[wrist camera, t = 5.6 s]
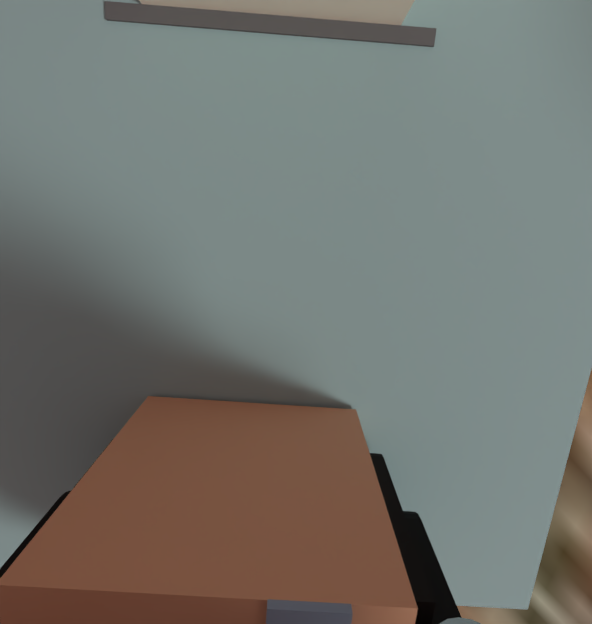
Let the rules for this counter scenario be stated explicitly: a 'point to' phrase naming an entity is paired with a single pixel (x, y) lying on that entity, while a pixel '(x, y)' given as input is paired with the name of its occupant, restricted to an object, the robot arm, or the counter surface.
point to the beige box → (306, 8)
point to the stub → (219, 525)
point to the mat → (305, 246)
